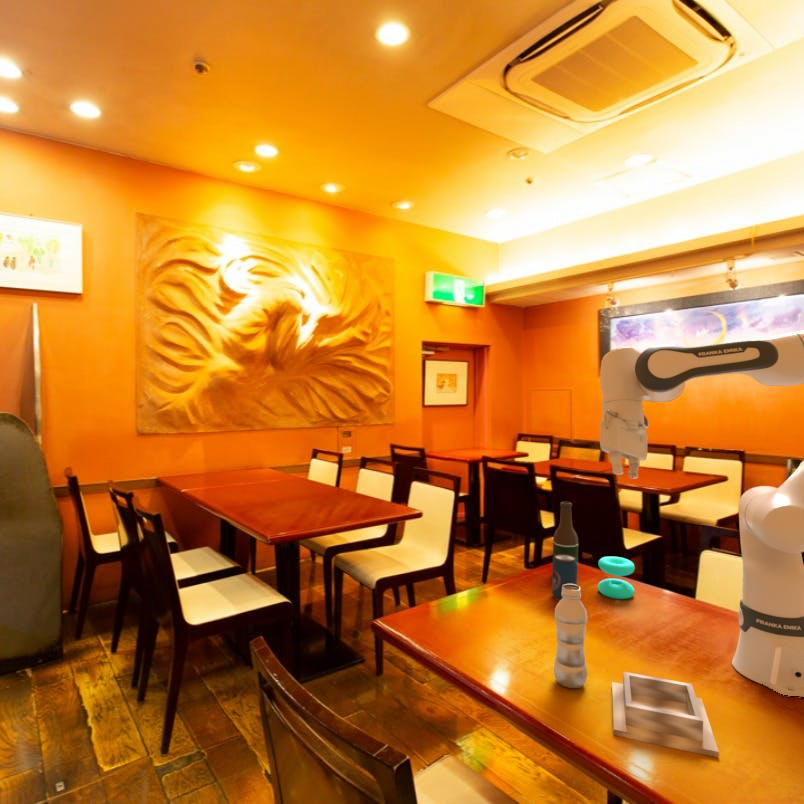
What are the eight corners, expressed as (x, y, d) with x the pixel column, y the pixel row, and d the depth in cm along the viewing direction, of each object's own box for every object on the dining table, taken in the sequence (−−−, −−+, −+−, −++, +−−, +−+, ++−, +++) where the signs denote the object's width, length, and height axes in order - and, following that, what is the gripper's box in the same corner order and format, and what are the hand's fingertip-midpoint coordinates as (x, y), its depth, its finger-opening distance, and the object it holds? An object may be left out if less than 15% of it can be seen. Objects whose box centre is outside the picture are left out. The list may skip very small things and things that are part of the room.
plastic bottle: (594, 686, 107) (595, 588, 107) (572, 696, 103) (573, 596, 103) (568, 671, 113) (569, 579, 112) (546, 681, 109) (547, 585, 108)
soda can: (548, 594, 156) (548, 553, 155) (570, 593, 156) (571, 552, 156) (557, 603, 149) (558, 561, 148) (581, 602, 149) (581, 560, 149)
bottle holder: (701, 703, 101) (701, 680, 101) (718, 757, 86) (719, 731, 86) (612, 686, 107) (612, 664, 107) (613, 734, 92) (614, 709, 92)
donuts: (642, 563, 153) (615, 567, 149) (642, 597, 153) (615, 602, 149) (616, 553, 162) (591, 557, 158) (616, 585, 162) (590, 590, 159)
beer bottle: (551, 578, 168) (552, 503, 168) (553, 570, 176) (554, 499, 175) (577, 581, 166) (578, 505, 165) (578, 573, 173) (579, 500, 172)
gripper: (619, 406, 113) (623, 470, 110) (650, 422, 127) (655, 480, 124) (590, 409, 117) (593, 472, 114) (624, 425, 132) (627, 480, 128)
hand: (626, 476), depth 119 cm, fingers open, 8 cm apart
